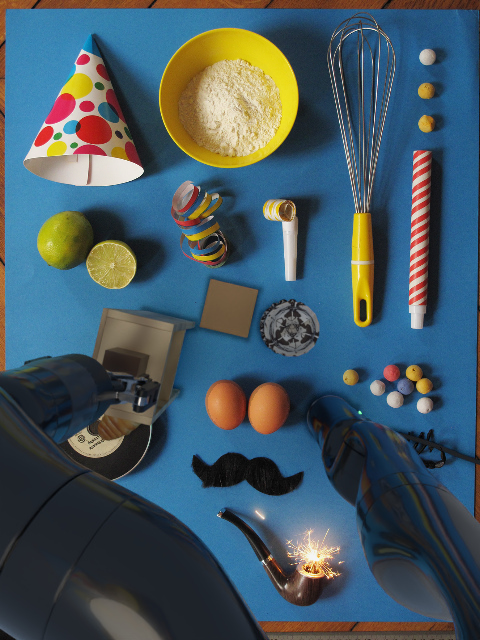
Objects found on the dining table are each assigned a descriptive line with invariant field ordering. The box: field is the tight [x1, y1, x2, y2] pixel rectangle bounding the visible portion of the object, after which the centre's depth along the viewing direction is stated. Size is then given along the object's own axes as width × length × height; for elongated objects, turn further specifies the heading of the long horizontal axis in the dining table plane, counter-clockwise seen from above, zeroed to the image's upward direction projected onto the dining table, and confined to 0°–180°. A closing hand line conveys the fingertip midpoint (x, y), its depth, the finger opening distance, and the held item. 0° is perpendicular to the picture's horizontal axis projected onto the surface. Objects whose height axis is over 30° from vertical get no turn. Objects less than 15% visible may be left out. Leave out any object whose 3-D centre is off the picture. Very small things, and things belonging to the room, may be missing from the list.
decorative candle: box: [259, 298, 320, 357], centre depth 73 cm, size 9×9×25 cm
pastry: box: [97, 414, 143, 442], centre depth 84 cm, size 9×7×4 cm
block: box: [102, 347, 149, 391], centre depth 59 cm, size 5×5×5 cm
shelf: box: [91, 307, 196, 427], centre depth 74 cm, size 11×15×24 cm
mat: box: [199, 278, 259, 339], centre depth 85 cm, size 10×10×1 cm
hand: (114, 374), depth 55 cm, fingers open, 8 cm apart
